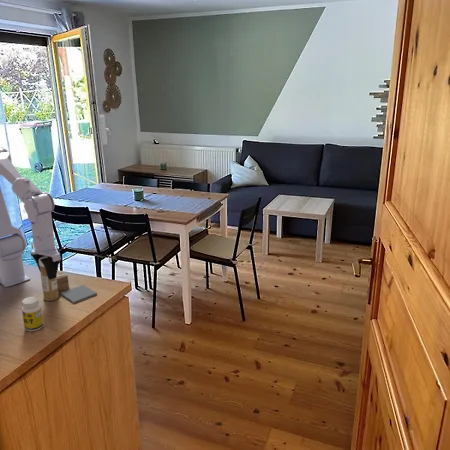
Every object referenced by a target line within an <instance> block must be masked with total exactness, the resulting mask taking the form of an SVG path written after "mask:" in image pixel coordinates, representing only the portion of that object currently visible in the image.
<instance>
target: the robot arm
mask: <svg viewBox="0 0 450 450" xmlns="http://www.w3.org/2000/svg"><path fill="white" fill-rule="evenodd" d="M0 176H2V177H4V179H5V180H6V181H8V182H9V183H10V184H11V190H12V192H13V193H14V195H16V196H17V198H18V199H19V200H21V202H22V203H23V207H24V210H25V213H26V214H27V219H28V221H29V222H30V224H31V234H32V240H33V242H30V246H31V249H32V250H30V256H31V257H32V259H34V261H35V263H36V265H37V267H38V270H39V272H40V274H41V271H40V266H39V259H40V258H41V257H44V256H47V258H43V259H40V261H41V262H42V263H43V265H44V267H45V269H46V273H47V276H48V278H49V279H50V280H51V279H54V278H56V275H57V272H58V268H59V265H60V262H61V261H62V256H61V253H59V251H58V248H57V246H56V243H55V233H54V226H53V218H52V212H54V209H55V201H54V199H53V196H52V195H51V194H50V193H49V192H45V191H41V190H40V188H38V187H37V186H36V185H35V183H34V182H33V181H31V180H30V178H29V177H26V176H25V177H23V176H22V174H20V172H19V171H18V170H17V168H16V166H14V165H13V163H12V155H11V154H10V151H8V149H6V147H3V146H2V147H0ZM10 218H11V217H10V215H9V212H8V208H7V205H6V201H5V198H4V194H3V191H2V188H1V186H0V284H1V285H2V286H3V287H6V288H8V287H11V286H14V285H17V284H20V283H24V282H26V281H30V280H31V278H30V277H29V276H28V275H26V274H25V268H24V261H23V256H22V255H24V253H25V252H24V251H25V250H26V248H27V240H26V239H25V237H24V236H23V234H22V233H23V232H22V230H21V229H19V228H18V227H15V226H13V225H12V222H11V219H10Z"/></svg>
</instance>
